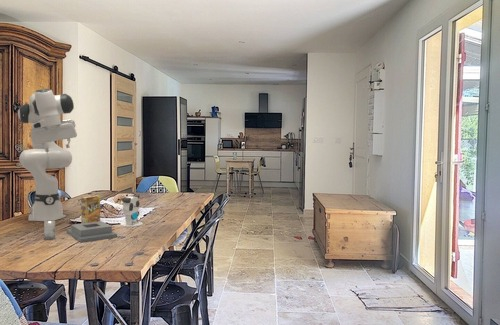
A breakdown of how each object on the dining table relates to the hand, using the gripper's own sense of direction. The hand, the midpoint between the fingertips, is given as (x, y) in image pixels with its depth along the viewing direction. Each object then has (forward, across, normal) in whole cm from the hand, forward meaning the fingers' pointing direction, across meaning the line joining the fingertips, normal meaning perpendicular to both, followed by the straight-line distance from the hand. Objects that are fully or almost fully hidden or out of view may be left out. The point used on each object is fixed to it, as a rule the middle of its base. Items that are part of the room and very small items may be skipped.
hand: (57, 149), depth 193 cm
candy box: (+42, -6, 0) cm, 42 cm away
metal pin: (+37, +10, +22) cm, 44 cm away
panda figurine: (+46, -26, +4) cm, 53 cm away
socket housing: (+41, -7, +21) cm, 46 cm away
